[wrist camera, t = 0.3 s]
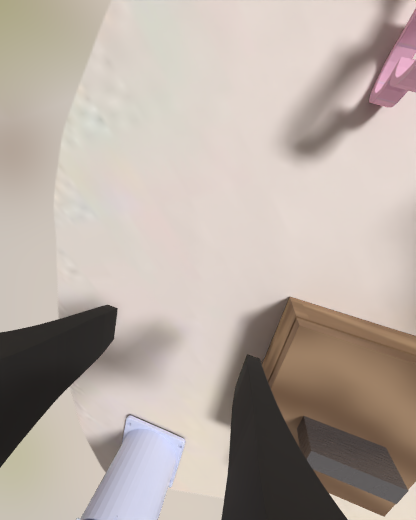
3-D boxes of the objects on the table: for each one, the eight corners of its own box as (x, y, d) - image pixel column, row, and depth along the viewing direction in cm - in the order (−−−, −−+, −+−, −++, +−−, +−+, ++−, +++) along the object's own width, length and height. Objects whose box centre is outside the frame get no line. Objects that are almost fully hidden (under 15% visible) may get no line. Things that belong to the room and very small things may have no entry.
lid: (377, 500, 18) (403, 565, 15) (242, 443, 20) (239, 491, 17) (480, 377, 14) (548, 431, 11) (296, 317, 16) (307, 349, 12)
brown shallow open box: (358, 452, 22) (375, 495, 19) (244, 407, 24) (242, 440, 20) (436, 342, 18) (476, 374, 14) (289, 296, 19) (296, 315, 16)
